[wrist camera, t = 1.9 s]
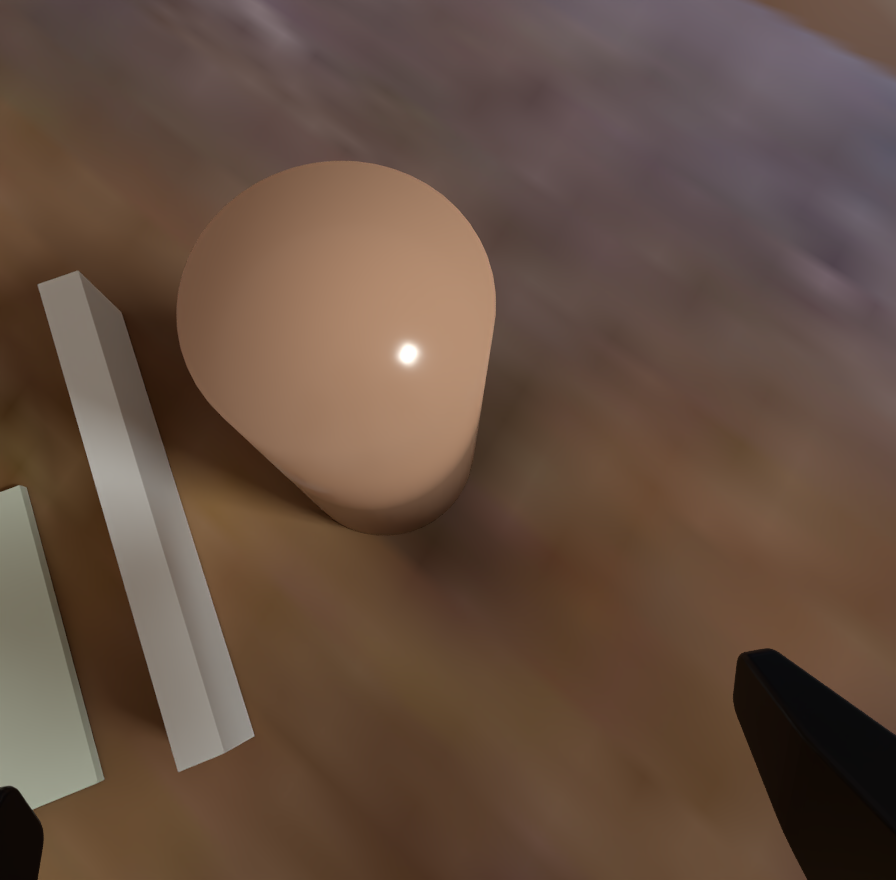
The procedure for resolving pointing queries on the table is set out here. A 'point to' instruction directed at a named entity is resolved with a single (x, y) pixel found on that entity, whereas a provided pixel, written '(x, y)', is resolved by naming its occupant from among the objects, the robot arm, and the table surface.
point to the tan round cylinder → (345, 337)
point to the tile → (37, 671)
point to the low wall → (146, 525)
